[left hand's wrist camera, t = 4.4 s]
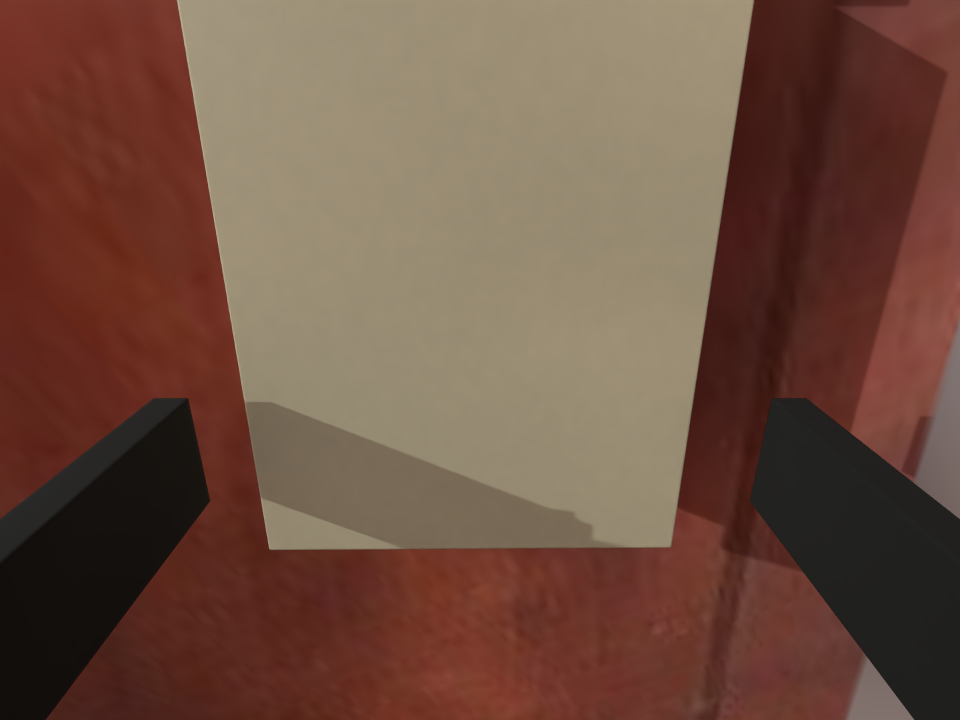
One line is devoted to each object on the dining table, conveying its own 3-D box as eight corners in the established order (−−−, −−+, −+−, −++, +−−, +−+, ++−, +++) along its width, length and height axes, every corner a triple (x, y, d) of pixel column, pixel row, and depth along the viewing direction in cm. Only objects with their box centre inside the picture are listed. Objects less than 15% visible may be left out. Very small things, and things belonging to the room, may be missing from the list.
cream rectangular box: (287, -103, 17) (121, -326, 9) (650, -102, 17) (804, -322, 9) (339, 413, 23) (269, 550, 15) (604, 411, 23) (671, 548, 15)
